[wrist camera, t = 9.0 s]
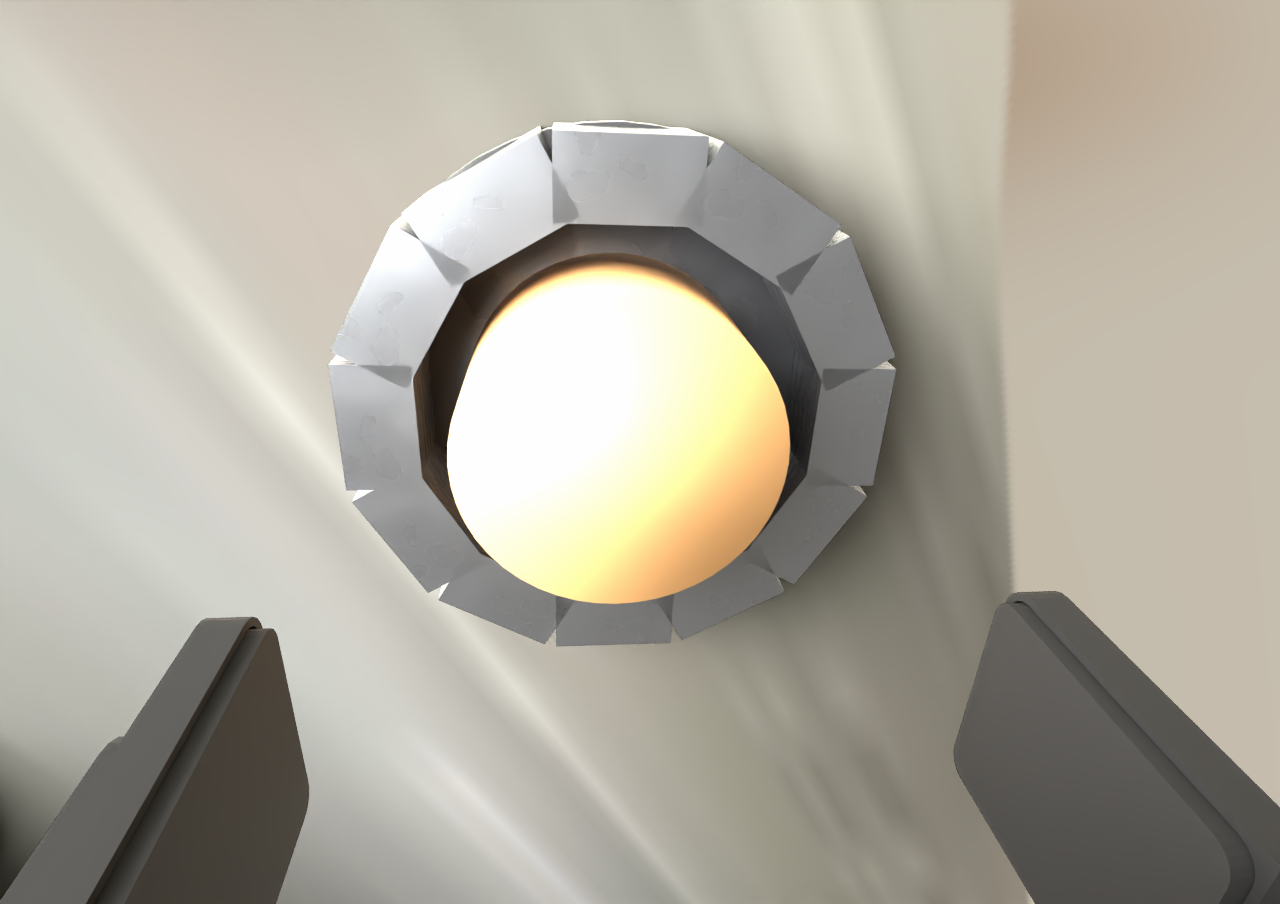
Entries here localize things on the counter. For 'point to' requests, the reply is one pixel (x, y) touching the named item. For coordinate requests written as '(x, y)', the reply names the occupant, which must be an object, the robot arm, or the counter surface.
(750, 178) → the faceted metal bowl
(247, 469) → the counter surface
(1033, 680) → the robot arm
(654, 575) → the pale yellow rounded lump
